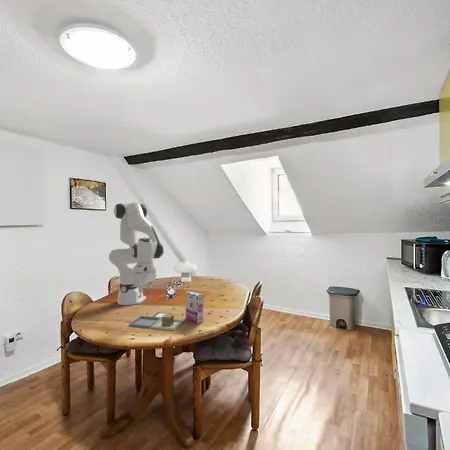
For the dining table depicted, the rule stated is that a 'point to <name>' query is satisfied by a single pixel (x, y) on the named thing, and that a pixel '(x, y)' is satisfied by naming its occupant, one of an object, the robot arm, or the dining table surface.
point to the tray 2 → (159, 326)
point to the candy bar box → (194, 306)
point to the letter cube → (167, 320)
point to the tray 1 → (144, 321)
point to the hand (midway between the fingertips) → (145, 290)
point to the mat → (161, 314)
